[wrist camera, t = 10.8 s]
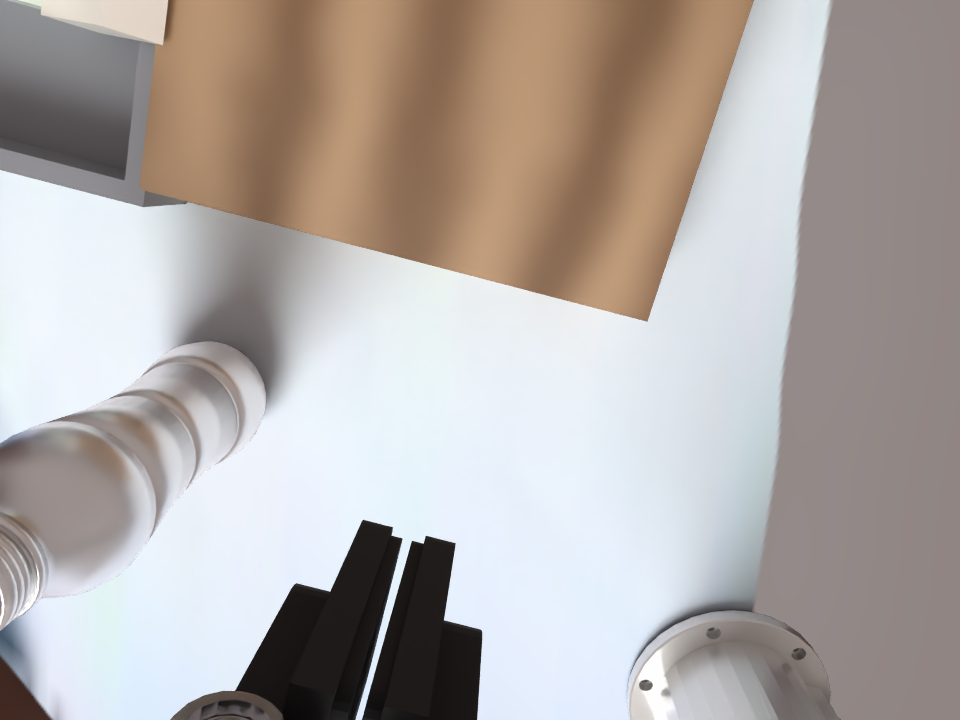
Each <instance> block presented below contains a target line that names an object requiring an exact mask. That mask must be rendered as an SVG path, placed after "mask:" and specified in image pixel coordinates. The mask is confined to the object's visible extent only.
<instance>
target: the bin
mask: <svg viewBox="0 0 960 720" xmlns="http://www.w3.org/2000/svg"><path fill="white" fill-rule="evenodd" d="M155 45H156V44H154V43H149V42H143V41H138V40H133V39H128V38H123V37H117V36H112V35H107V34H102V33H98V32H95V31H91V30H88V29H85V28H82V27H78V26H75V25H72V24H69V23H65V22H62V21H59V20H56V19H52V18H49V17H46V16H43V15H41V10H40V9H37V8H33V7H30V6H26V5H22V4H19V3H15V2H12V1H8V0H0V170H3V171H7V172H11V173H14V174H18V175H22V176H26V177H30V178H34V179H38V180H41V181H45V182H49V183H53V184H57V185H61V186H64V187H68V188H72V189H76V190H80V191H84V192H88V193H91V194H95V195H99V196H103V197H107V198H111V199H115V200H118V201H122V202H126V203H130V204H134V205H138V206H141V207H149V206H162V205H175V204H186V203H187V201H183V200H179V199H175V198H171V197H167V196H164V195H160V194H156V193H152V192H148V191H144V190H141V189H139V186H140V177H141V169H142V160H143V151H144V142H145V133H146V124H147V116H148V107H149V98H150V89H151V80H152V71H153V63H154V54H155Z"/></svg>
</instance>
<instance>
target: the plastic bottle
mask: <svg viewBox="0 0 960 720" xmlns="http://www.w3.org/2000/svg"><path fill="white" fill-rule="evenodd" d="M265 407H266V391H265V387H264V383H263V380H262V378H261V375H260V373H259V372H258V370H257V368H256V367H255V365H254V364H253V363H252V362H251V361H250V360H249V359H248V358H247V357H246V356H245V355H244V354H243V353H241V352H240V351H238V350H237V349H235V348H233V347H231V346H229V345H226V344H223V343H219V342H211V341H204V342H196V343H191V344H185V345H181V346H179V347H176V348H173V349H171V350H170V351H168V352H167V353H165V354H164V355H162V356H161V357H160V358H159V359H158V360H157V361H156V362H155V363H153V364H152V365H151V366H150V367H149V368H148V369H147V370H146V372H145V373H144V374H143V375H142V376H141V378H139V379H138V380H137V381H135V382H134V383H133V384H131V385H130V386H129V387H127V388H126V389H125V390H123V391H122V392H121V393H119V394H118V395H115V396H113V397H111V398H109V399H108V400H105V401H103V402H101V403H99V404H96V405H94V406H92V407H90V408H88V409H86V410H84V411H81V412H78V413H74V414H71V415H68V416H65V417H62V418H59V419H56V420H53V421H50V422H47V423H43V424H40V425H38V426H35V427H32V428H29V429H27V430H25V431H23V432H20V433H18V434H16V435H13V436H11V437H10V438H8V439H7V440H5V441H4V442H2V443H1V444H0V631H1V630H2V629H3V628H4V627H5V626H6V625H7V624H9V623H10V622H11V621H12V620H15V619H17V618H18V617H20V616H22V615H23V614H25V613H26V612H27V611H28V610H29V609H30V608H32V607H33V606H34V605H35V604H36V603H37V602H38V601H39V600H40V599H41V598H53V597H64V596H72V595H78V594H81V593H84V592H87V591H90V590H92V589H94V588H96V587H98V586H100V585H102V584H104V583H106V582H108V581H110V580H112V579H113V578H115V577H117V576H119V575H120V574H121V573H122V572H123V571H124V570H125V569H127V568H128V567H129V566H130V565H131V563H132V562H133V561H134V560H135V558H136V557H137V556H138V555H139V554H140V552H141V551H142V549H143V548H144V547H145V545H146V544H147V542H148V541H149V539H150V537H151V536H152V534H153V533H154V531H155V530H156V528H157V527H158V525H159V523H160V522H161V520H162V519H163V517H164V516H165V514H166V513H167V511H168V510H169V509H170V507H171V506H172V505H173V504H174V503H175V502H176V500H177V499H178V498H179V497H180V496H181V495H182V494H183V492H184V491H185V490H186V489H187V488H188V487H189V485H190V484H191V483H192V482H193V481H194V480H196V479H197V478H198V477H199V476H201V475H202V474H203V473H205V472H206V471H207V470H209V469H210V468H211V467H212V466H214V465H216V464H218V463H220V462H222V461H224V460H226V459H227V458H229V457H231V456H232V455H234V454H235V453H237V452H238V451H240V450H241V449H242V448H244V447H245V446H246V445H247V444H248V443H249V442H250V440H251V439H252V438H253V436H254V435H255V433H256V431H257V429H258V427H259V425H260V423H261V420H262V418H263V416H264V413H265Z"/></svg>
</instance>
